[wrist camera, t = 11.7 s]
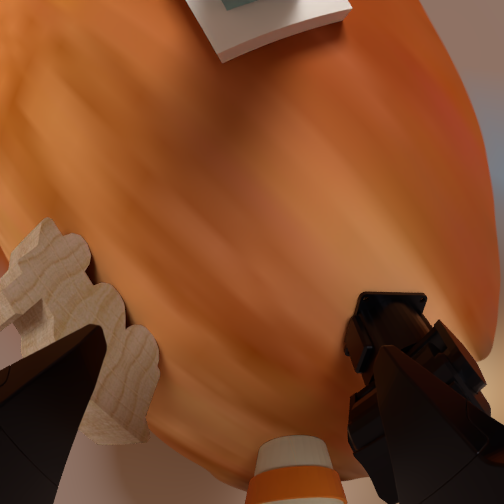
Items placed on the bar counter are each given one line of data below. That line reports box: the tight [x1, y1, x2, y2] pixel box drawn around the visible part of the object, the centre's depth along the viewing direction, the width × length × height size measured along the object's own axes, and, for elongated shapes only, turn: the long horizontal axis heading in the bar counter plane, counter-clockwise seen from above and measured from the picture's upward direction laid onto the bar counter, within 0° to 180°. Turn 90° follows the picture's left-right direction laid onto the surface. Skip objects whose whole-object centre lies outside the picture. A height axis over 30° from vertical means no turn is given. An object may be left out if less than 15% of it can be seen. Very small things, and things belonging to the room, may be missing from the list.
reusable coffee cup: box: [245, 435, 347, 504], centre depth 25 cm, size 13×13×15 cm
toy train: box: [0, 217, 160, 445], centre depth 19 cm, size 6×17×10 cm, turn 28°
